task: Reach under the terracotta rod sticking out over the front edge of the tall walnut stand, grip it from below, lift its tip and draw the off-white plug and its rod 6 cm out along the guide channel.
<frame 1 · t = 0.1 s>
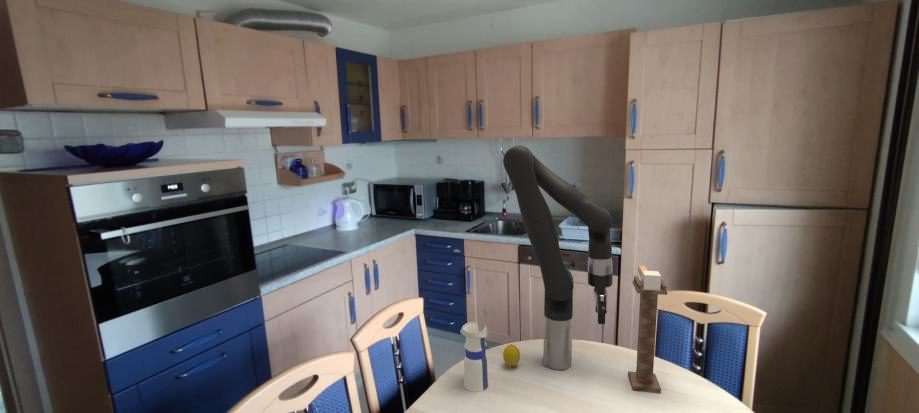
hand: (600, 317, 138), 17 cm above the table, tool pointing down, fingers open, 8 cm apart
lemon: (511, 367, 143), on the table
tall stand: (643, 384, 131), on the table
plug rod: (649, 285, 125), point 32 cm above the table, touching tall stand
white tall cylindrical piece: (475, 384, 134), on the table
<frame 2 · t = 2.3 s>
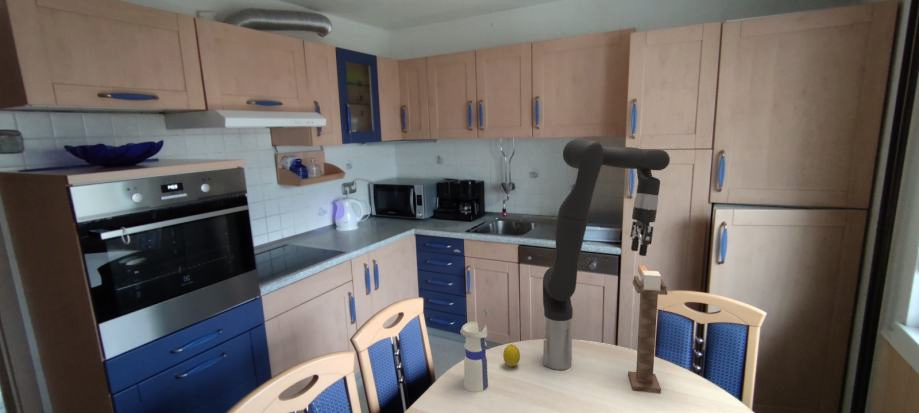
hand: (638, 253, 148), 35 cm above the table, tool pointing down, fingers open, 8 cm apart
nothing on the table moved.
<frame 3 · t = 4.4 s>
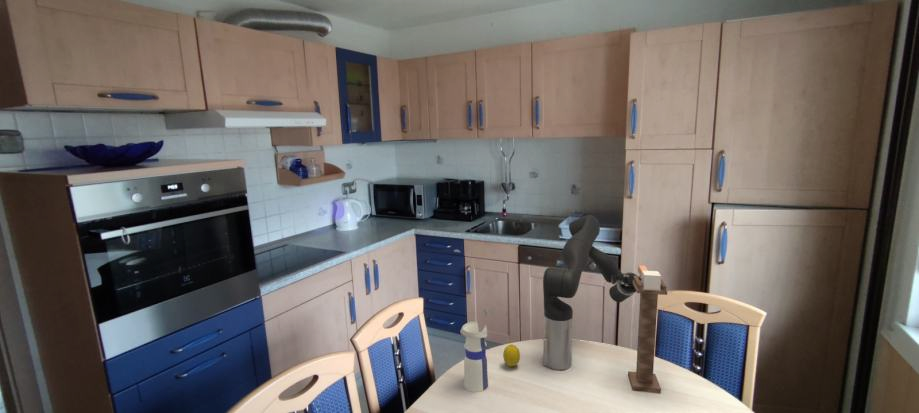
hand: (635, 276, 147), 27 cm above the table, tool pointing upward, fingers open, 8 cm apart
nothing on the table moved.
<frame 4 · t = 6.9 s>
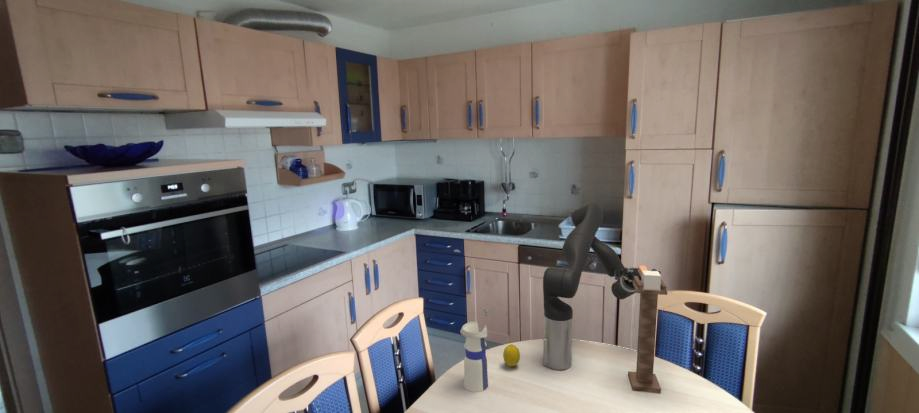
hand: (640, 271, 139), 32 cm above the table, tool pointing upward, fingers open, 8 cm apart
nothing on the table moved.
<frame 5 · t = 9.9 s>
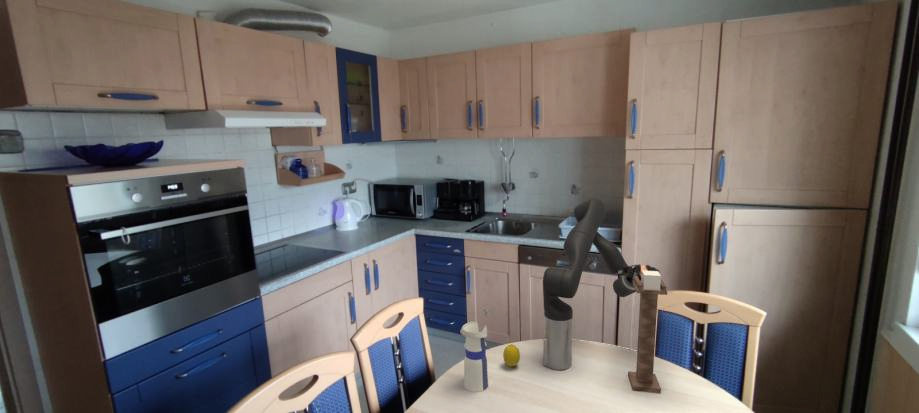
hand: (644, 267, 133), 35 cm above the table, tool pointing upward, fingers closed on plug rod, 2 cm apart
plug rod: (649, 285, 125), point 32 cm above the table, touching gripper, tall stand
everything else where it was.
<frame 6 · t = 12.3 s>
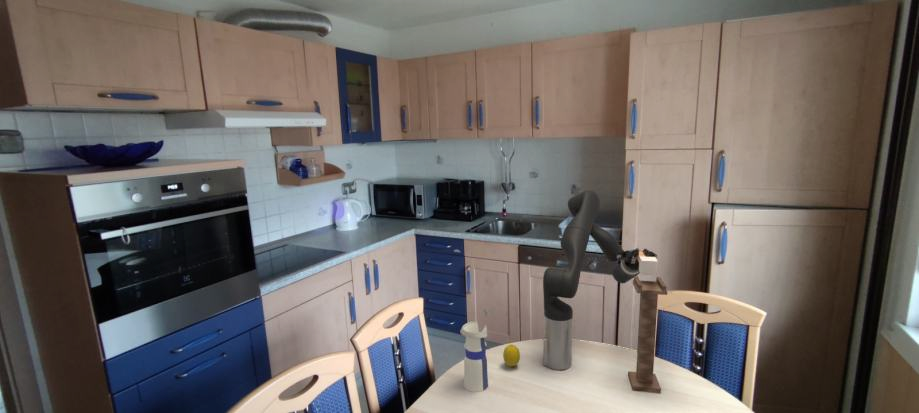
hand: (641, 251, 137), 38 cm above the table, tool pointing upward, fingers closed on plug rod
plug rod: (646, 271, 129), point 35 cm above the table, touching gripper
everything else where it was.
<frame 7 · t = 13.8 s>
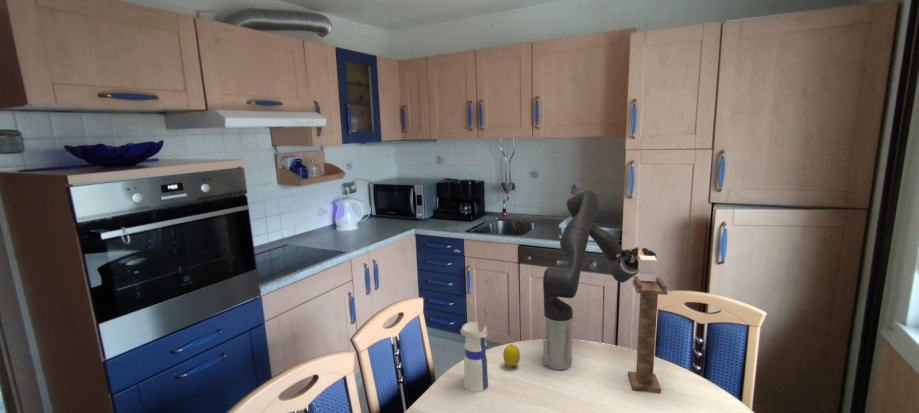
hand: (641, 250, 138), 38 cm above the table, tool pointing upward, fingers closed on plug rod
plug rod: (646, 269, 130), point 35 cm above the table, touching gripper
everything else where it was.
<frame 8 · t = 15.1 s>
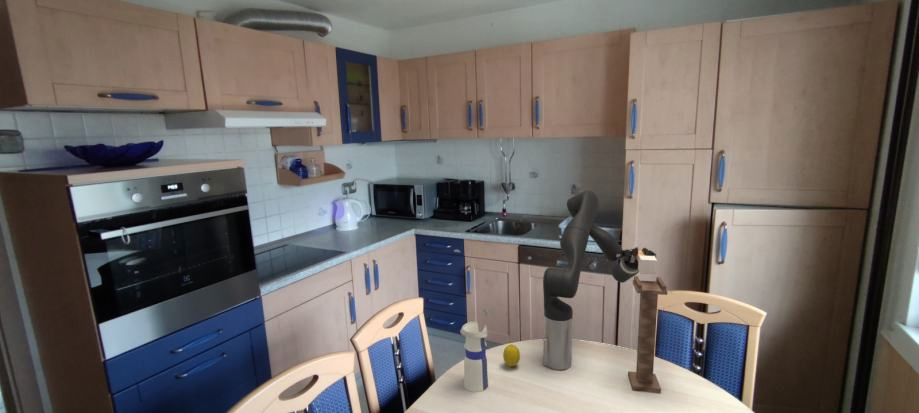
hand: (641, 250, 138), 38 cm above the table, tool pointing upward, fingers closed on plug rod
plug rod: (646, 269, 130), point 35 cm above the table, touching gripper
everything else where it was.
at the end: the gripper is holding plug rod; plug rod moved 6.5 cm from its start; plug rod point 34.9 cm above the table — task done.
